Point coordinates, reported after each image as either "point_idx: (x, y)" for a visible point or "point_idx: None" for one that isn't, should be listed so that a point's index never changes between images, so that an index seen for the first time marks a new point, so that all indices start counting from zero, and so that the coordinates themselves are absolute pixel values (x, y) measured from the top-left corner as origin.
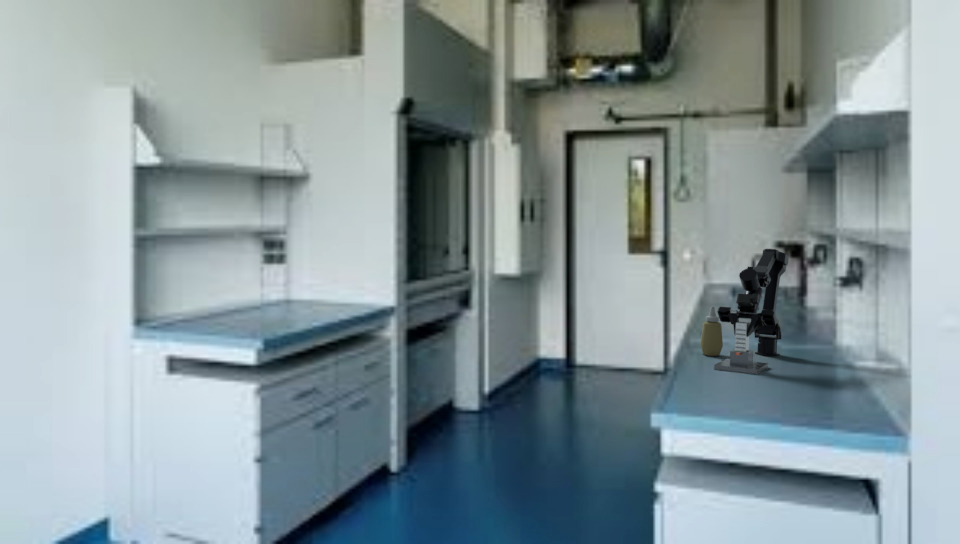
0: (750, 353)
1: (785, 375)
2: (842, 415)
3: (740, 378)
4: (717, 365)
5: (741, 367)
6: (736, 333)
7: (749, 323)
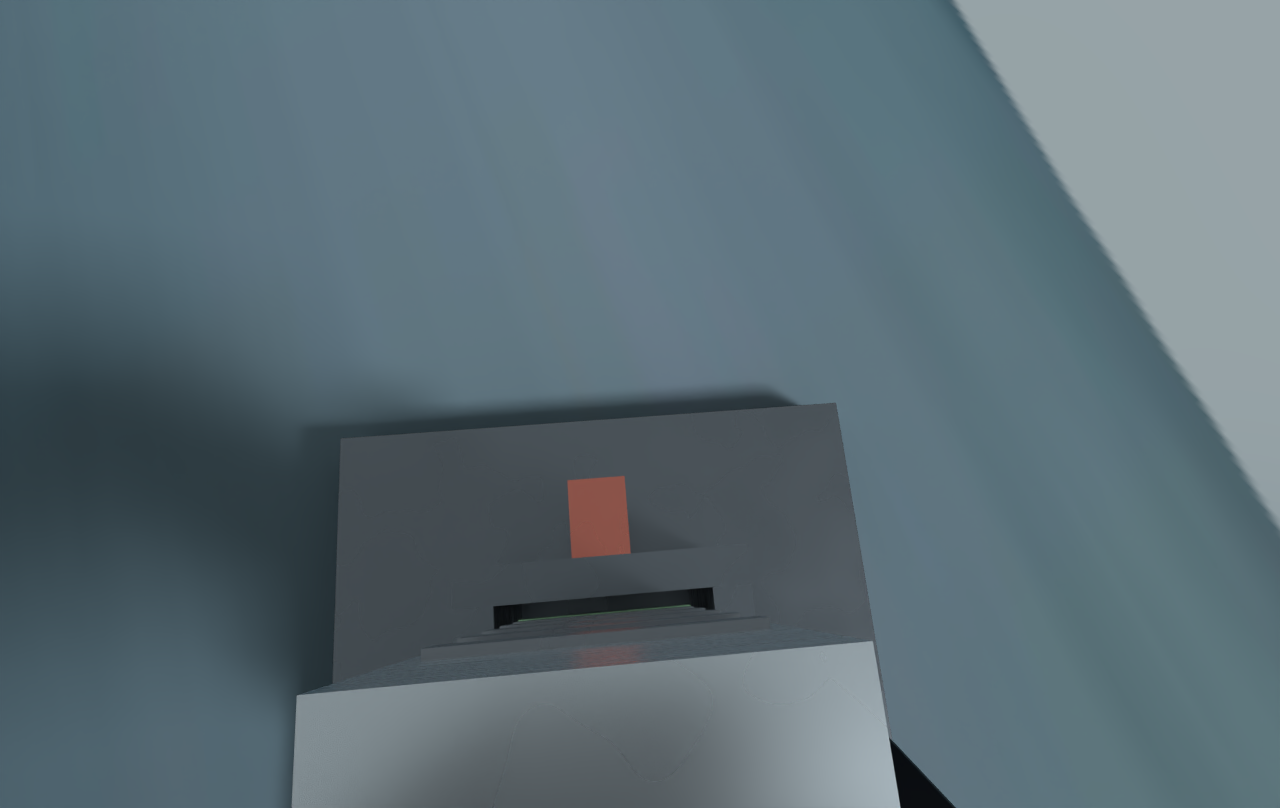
0: None
1: (62, 616)
2: None
3: (442, 166)
4: (797, 406)
5: (532, 454)
6: (725, 617)
7: None
